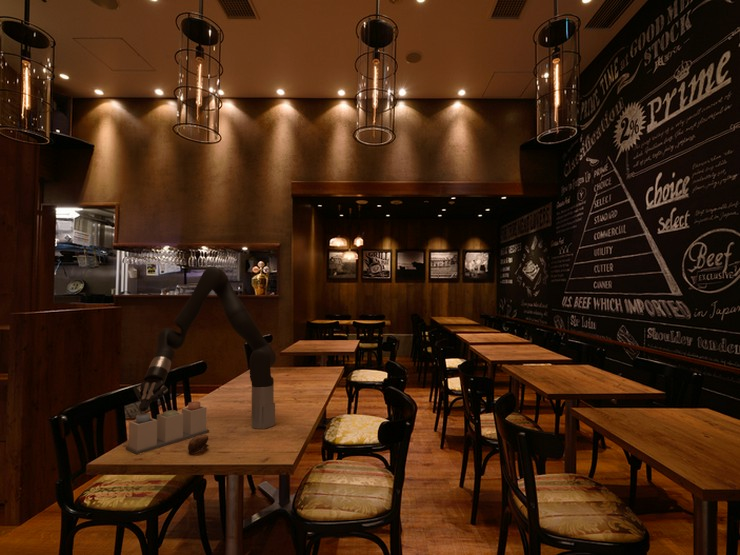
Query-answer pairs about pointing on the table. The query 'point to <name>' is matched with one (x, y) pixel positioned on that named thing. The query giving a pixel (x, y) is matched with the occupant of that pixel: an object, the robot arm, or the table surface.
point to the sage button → (170, 413)
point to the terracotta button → (194, 405)
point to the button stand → (166, 430)
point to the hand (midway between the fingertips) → (142, 410)
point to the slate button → (142, 418)
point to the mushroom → (198, 444)
